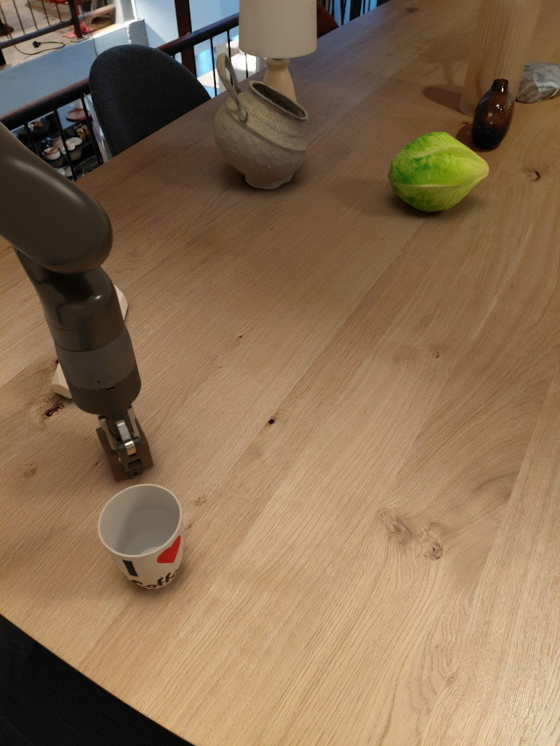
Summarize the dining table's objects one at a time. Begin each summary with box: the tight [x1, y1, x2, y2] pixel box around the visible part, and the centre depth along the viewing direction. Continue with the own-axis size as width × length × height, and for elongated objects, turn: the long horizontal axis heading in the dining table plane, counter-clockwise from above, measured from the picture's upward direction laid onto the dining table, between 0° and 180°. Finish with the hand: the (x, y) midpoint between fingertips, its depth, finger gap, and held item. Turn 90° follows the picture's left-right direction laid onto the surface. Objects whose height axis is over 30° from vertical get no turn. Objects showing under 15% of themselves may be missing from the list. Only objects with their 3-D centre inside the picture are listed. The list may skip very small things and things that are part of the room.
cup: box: [97, 483, 185, 590], centre depth 59 cm, size 8×8×10 cm
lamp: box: [238, 0, 318, 102], centre depth 136 cm, size 19×19×37 cm
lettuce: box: [387, 131, 490, 213], centre depth 116 cm, size 15×20×14 cm
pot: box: [212, 52, 309, 190], centre depth 120 cm, size 21×21×25 cm
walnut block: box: [95, 417, 155, 483], centre depth 70 cm, size 5×5×5 cm
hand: (128, 457), depth 72 cm, fingers closed on walnut block, 5 cm apart
